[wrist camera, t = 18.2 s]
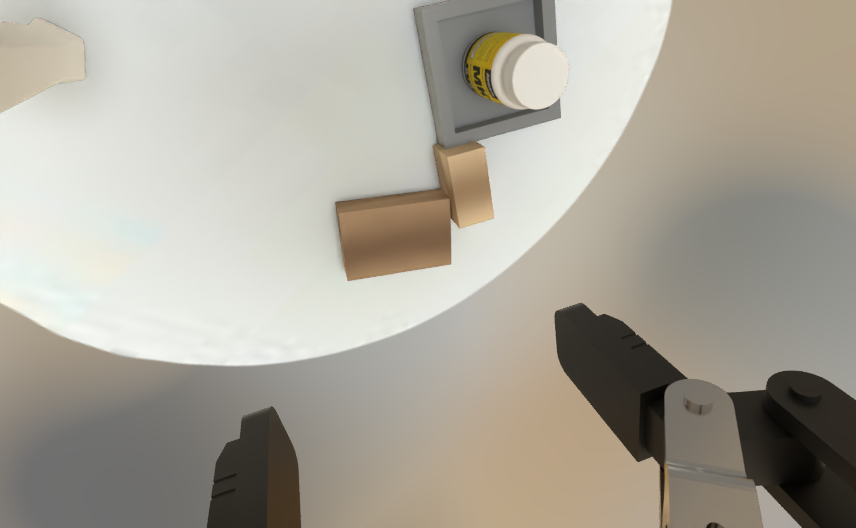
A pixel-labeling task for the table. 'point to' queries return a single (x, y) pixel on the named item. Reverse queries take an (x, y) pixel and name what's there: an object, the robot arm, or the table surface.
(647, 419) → the robot arm
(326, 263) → the table surface
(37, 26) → the white plastic bottle
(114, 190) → the table surface
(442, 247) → the flat cardboard carton
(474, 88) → the supplement bottle
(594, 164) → the table surface
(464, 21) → the tray
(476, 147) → the tan rectangular block
